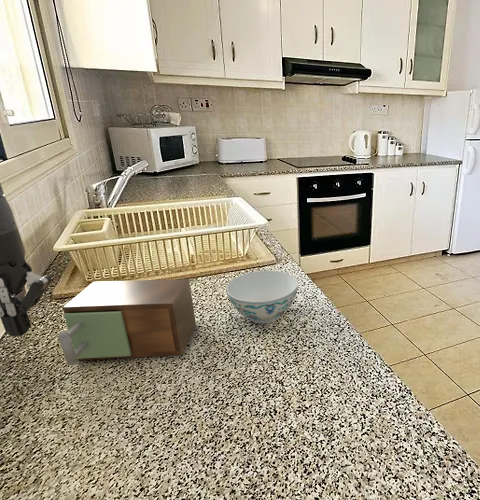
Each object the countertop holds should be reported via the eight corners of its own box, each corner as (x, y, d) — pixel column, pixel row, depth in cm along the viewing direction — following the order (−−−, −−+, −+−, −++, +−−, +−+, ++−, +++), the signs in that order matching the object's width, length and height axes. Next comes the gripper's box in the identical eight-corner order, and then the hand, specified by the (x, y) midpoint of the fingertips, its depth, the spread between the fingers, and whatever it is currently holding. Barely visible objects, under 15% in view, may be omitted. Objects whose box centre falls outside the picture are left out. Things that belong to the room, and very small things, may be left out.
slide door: (60, 377, 62) (45, 330, 59) (78, 356, 67) (66, 313, 64) (117, 373, 63) (106, 328, 60) (131, 354, 68) (121, 311, 65)
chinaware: (218, 313, 84) (214, 282, 81) (276, 293, 93) (274, 265, 90) (250, 343, 73) (247, 309, 70) (312, 317, 82) (311, 286, 80)
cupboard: (78, 360, 68) (62, 307, 64) (105, 329, 77) (93, 281, 73) (181, 355, 69) (172, 303, 66) (196, 325, 79) (189, 278, 75)
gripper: (49, 220, 57) (78, 318, 63) (-46, 223, 56) (-7, 322, 62) (13, 236, 50) (50, 345, 56) (-97, 239, 49) (-47, 350, 55)
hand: (20, 333), depth 59 cm, fingers closed
